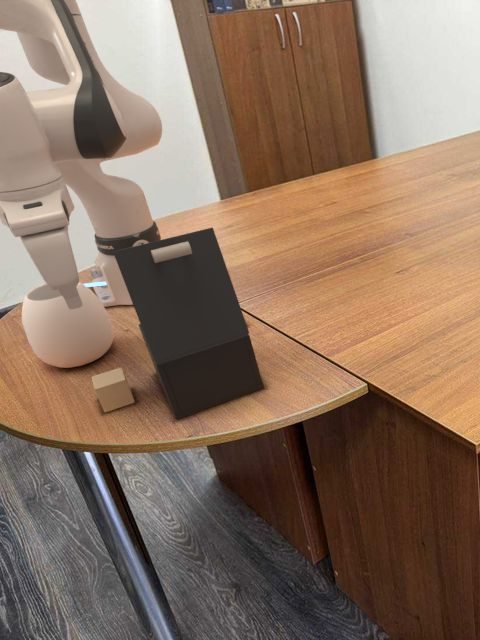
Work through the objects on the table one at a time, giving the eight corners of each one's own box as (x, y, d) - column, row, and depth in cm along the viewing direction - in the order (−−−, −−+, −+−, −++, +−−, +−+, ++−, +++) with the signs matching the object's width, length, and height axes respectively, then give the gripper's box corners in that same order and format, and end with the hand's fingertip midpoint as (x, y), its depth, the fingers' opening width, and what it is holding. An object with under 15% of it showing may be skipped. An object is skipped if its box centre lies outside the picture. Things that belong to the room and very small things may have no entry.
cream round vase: (30, 360, 118) (-3, 294, 111) (103, 331, 126) (77, 267, 120) (57, 385, 111) (24, 315, 104) (133, 351, 119) (107, 285, 112)
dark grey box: (157, 374, 111) (138, 324, 106) (237, 348, 117) (222, 299, 112) (176, 419, 100) (156, 365, 95) (264, 388, 106) (249, 335, 101)
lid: (112, 251, 91) (112, 249, 87) (212, 227, 97) (216, 224, 93) (155, 362, 95) (157, 365, 90) (248, 333, 101) (254, 334, 96)
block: (101, 399, 106) (91, 376, 104) (130, 389, 108) (121, 367, 106) (104, 412, 103) (94, 389, 100) (135, 402, 105) (125, 379, 102)
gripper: (6, 191, 94) (44, 278, 101) (8, 228, 79) (53, 327, 86) (55, 182, 97) (89, 267, 104) (66, 216, 82) (105, 313, 89)
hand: (73, 295), depth 95 cm, fingers open, 8 cm apart
